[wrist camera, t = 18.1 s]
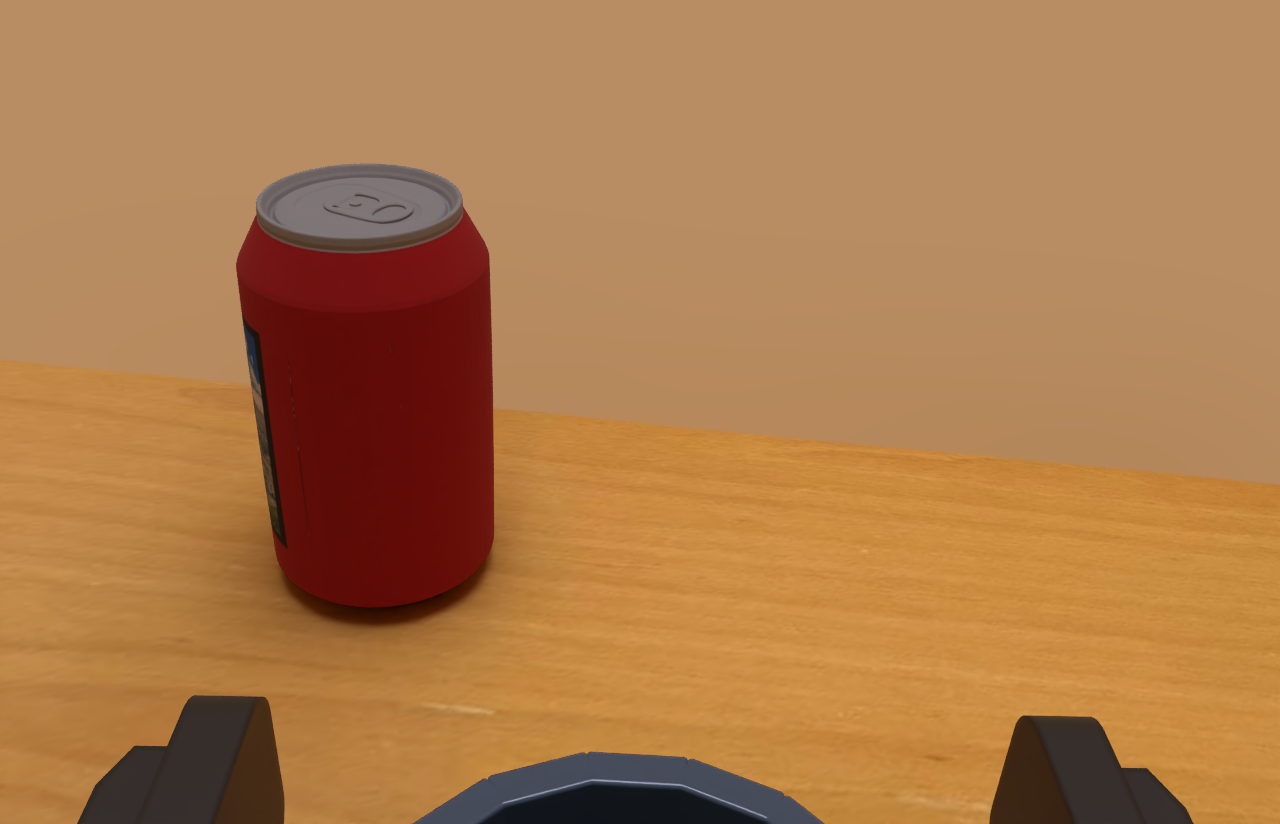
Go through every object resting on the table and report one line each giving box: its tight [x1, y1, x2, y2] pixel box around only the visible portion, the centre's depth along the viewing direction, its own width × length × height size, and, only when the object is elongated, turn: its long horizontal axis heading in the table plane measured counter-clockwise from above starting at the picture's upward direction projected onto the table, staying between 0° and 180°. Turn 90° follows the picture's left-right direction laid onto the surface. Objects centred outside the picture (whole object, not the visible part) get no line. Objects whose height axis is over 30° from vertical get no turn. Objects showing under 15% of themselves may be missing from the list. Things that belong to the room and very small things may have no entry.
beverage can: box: [236, 164, 494, 607], centre depth 35 cm, size 7×7×12 cm
